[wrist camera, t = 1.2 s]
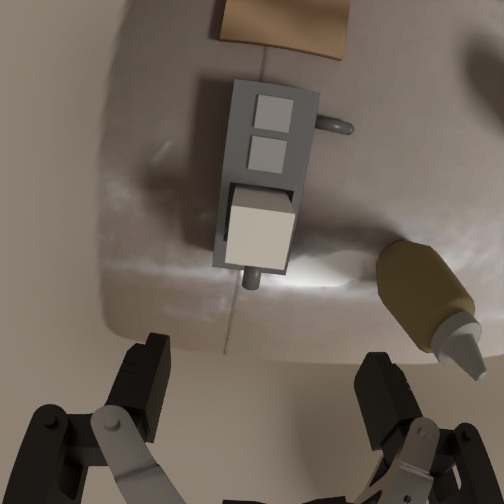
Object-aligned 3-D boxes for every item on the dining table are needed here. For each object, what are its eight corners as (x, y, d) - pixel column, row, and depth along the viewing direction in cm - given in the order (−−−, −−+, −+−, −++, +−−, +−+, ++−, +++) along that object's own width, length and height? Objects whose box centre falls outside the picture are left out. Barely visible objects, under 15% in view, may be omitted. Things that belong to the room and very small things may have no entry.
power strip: (236, 82, 24) (234, 78, 21) (355, 105, 25) (369, 104, 21) (215, 252, 31) (211, 269, 28) (320, 265, 32) (327, 283, 29)
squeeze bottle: (354, 281, 33) (416, 410, 17) (388, 219, 30) (490, 324, 14) (404, 299, 34) (472, 409, 18) (437, 244, 31) (531, 340, 15)
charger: (236, 183, 27) (231, 205, 21) (285, 189, 27) (295, 214, 21) (227, 250, 30) (221, 288, 24) (272, 256, 30) (278, 295, 24)
